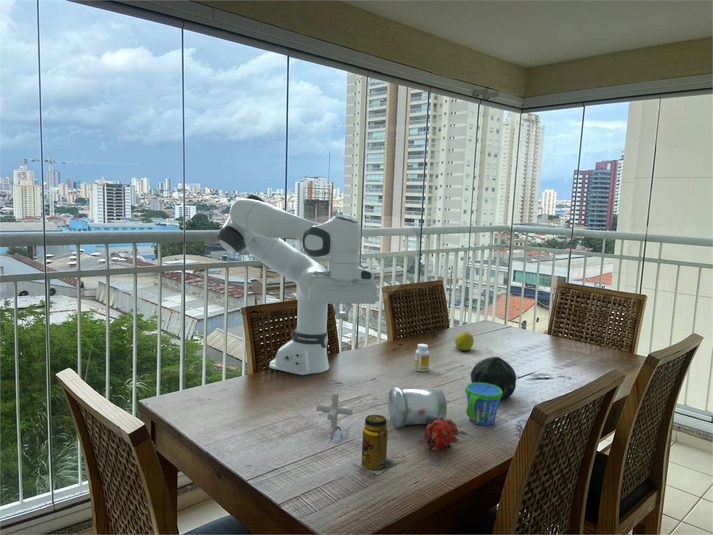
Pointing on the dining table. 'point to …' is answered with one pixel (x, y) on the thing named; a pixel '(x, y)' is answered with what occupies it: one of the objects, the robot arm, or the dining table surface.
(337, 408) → the pipe connector
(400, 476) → the dining table surface
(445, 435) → the dragon fruit
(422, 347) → the supplement bottle
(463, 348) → the lemon
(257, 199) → the robot arm
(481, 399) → the snack cup
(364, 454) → the condiment
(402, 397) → the white flanged cylinder
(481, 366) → the squash
